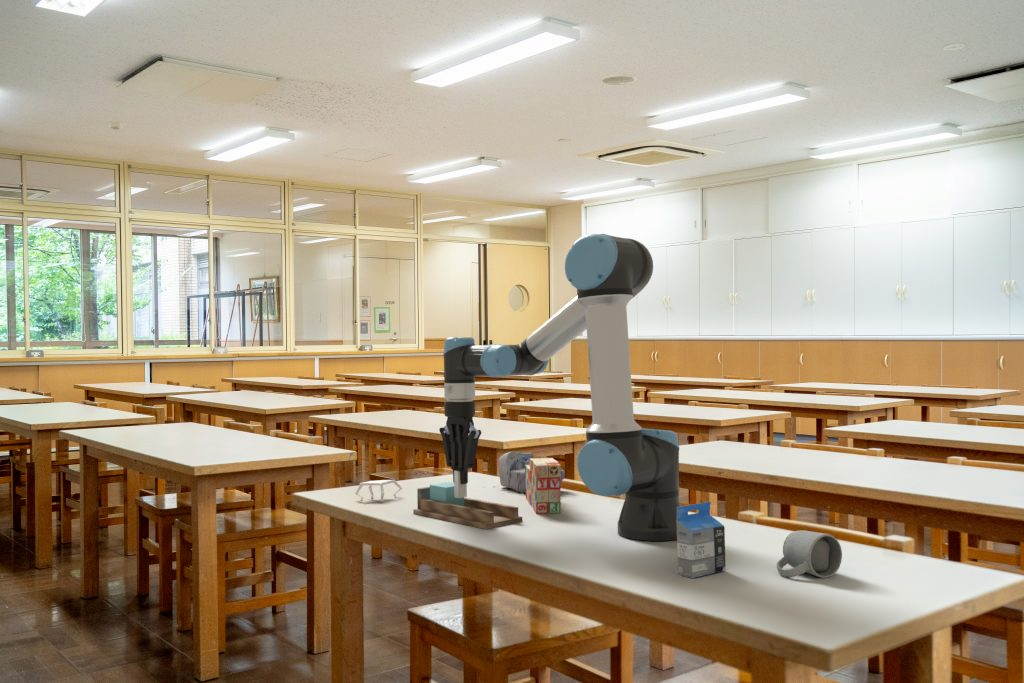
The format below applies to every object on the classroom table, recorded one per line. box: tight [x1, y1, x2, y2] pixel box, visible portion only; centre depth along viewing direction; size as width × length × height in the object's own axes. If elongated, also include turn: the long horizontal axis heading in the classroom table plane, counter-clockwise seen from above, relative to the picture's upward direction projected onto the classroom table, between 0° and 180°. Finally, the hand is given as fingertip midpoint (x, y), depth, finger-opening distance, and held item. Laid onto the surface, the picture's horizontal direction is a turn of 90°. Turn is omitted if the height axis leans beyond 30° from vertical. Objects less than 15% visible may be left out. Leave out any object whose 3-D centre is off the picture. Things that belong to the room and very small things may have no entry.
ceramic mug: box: [776, 529, 843, 579], centre depth 154 cm, size 11×8×8 cm
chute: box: [412, 486, 523, 530], centre depth 205 cm, size 26×12×6 cm, turn 45°
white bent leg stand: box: [355, 479, 403, 502], centre depth 230 cm, size 12×8×5 cm
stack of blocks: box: [525, 457, 562, 515], centre depth 219 cm, size 21×6×12 cm, turn 7°
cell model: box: [498, 451, 566, 494], centre depth 243 cm, size 13×11×20 cm
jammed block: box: [429, 481, 464, 506], centre depth 210 cm, size 6×6×6 cm
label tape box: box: [676, 501, 727, 579], centre depth 154 cm, size 9×4×12 cm, turn 124°
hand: (460, 496), depth 206 cm, fingers closed
